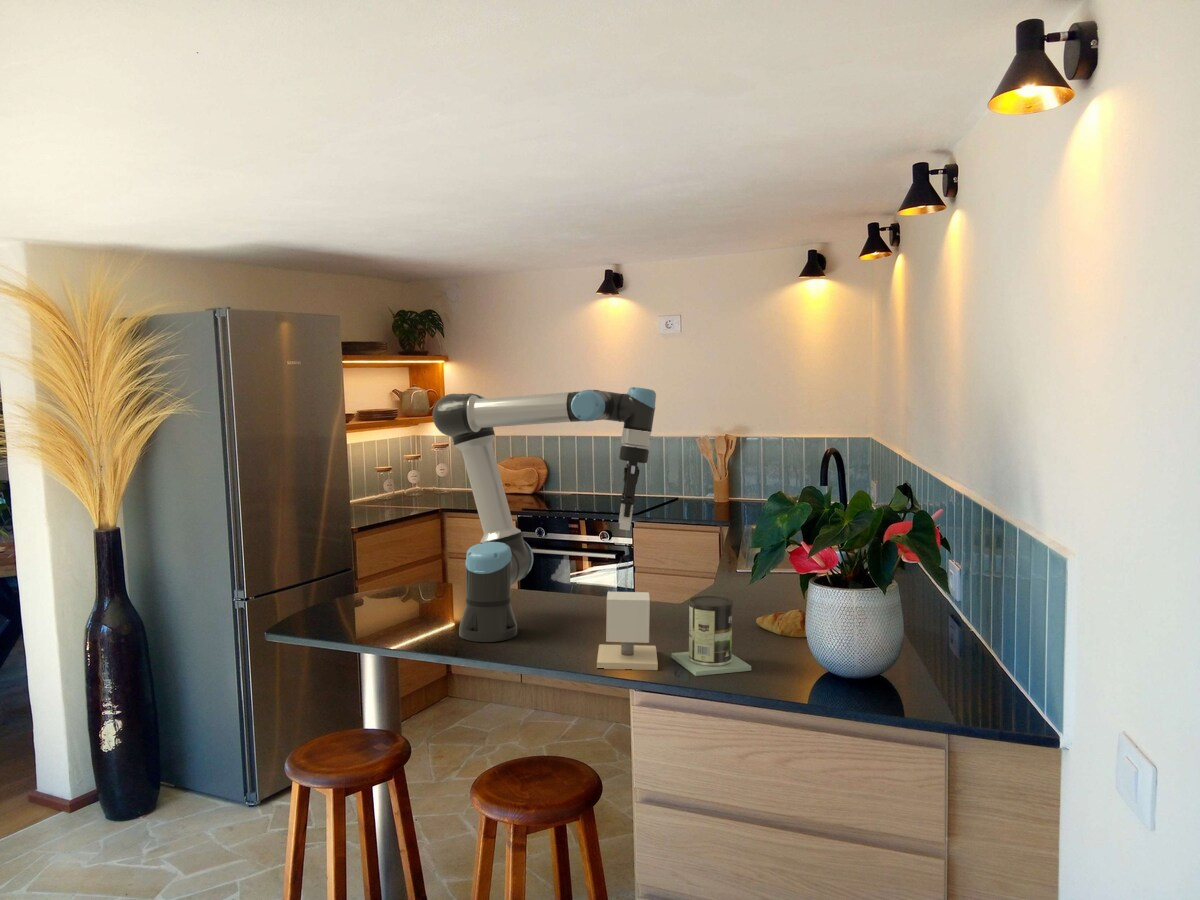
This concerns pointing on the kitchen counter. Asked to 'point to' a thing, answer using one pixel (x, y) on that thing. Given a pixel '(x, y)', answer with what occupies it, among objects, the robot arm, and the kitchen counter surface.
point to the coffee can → (710, 630)
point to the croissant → (784, 623)
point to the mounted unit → (627, 633)
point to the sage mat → (699, 670)
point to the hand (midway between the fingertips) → (623, 526)
